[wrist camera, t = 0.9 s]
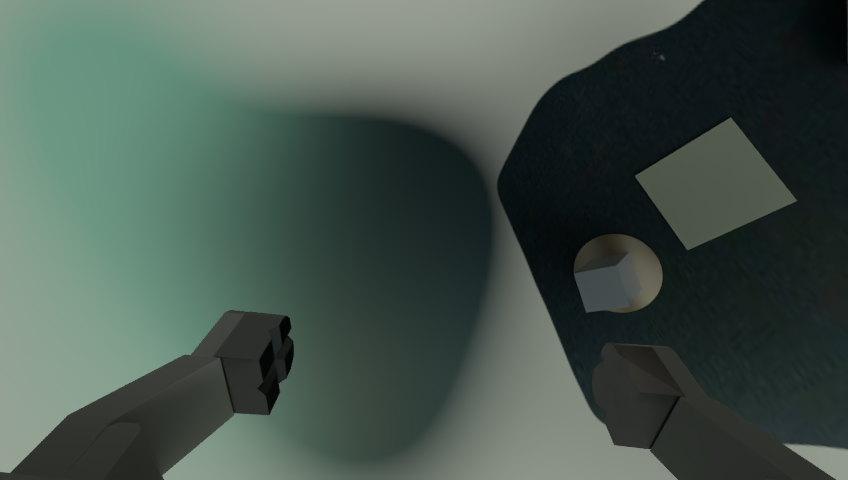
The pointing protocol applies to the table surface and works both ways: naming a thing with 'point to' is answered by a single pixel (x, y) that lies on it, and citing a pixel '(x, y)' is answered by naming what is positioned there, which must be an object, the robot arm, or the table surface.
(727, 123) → the sage mat
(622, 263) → the grey block
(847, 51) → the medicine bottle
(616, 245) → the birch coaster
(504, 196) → the table surface
